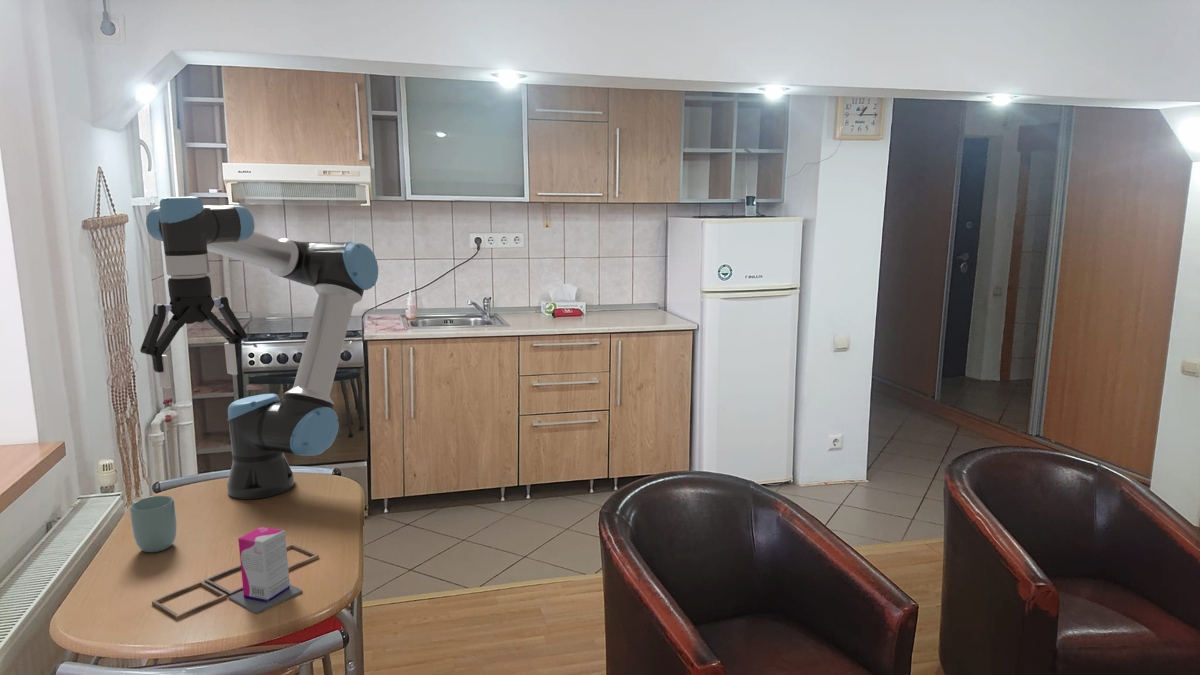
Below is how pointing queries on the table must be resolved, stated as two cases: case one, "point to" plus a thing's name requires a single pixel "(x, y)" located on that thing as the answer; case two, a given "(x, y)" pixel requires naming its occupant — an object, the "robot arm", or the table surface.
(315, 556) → the frame
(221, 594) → the frame
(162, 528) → the cup
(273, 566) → the supplement box
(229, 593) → the frame
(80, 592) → the table surface
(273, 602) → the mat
